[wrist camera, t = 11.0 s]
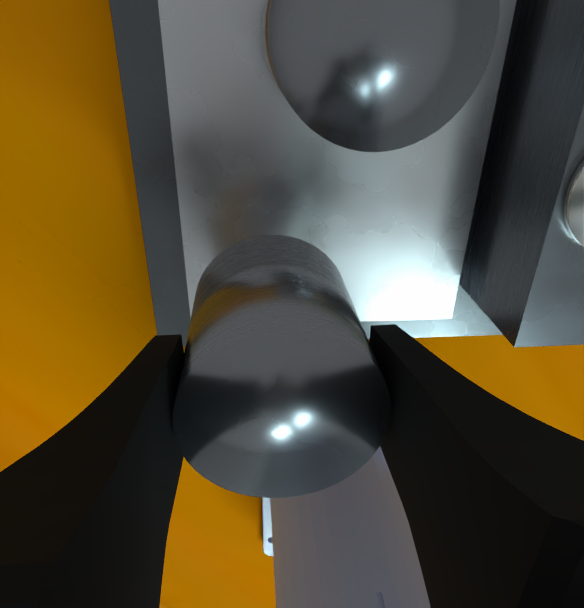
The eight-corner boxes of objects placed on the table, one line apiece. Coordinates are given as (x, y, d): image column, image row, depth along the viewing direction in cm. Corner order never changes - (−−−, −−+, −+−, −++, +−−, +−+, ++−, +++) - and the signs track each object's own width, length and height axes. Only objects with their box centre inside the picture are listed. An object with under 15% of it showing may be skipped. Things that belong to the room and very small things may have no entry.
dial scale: (520, 315, 22) (614, 410, 16) (164, 327, 21) (135, 434, 15) (640, -107, 15) (883, -197, 9) (102, -131, 13) (1, -253, 8)
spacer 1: (406, 118, 15) (474, 152, 11) (261, 117, 15) (269, 152, 10) (429, -62, 13) (525, -113, 8) (259, -68, 12) (267, -126, 8)
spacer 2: (343, 362, 16) (383, 489, 11) (203, 372, 15) (187, 506, 11) (349, 230, 13) (400, 323, 9) (185, 239, 13) (156, 339, 9)
